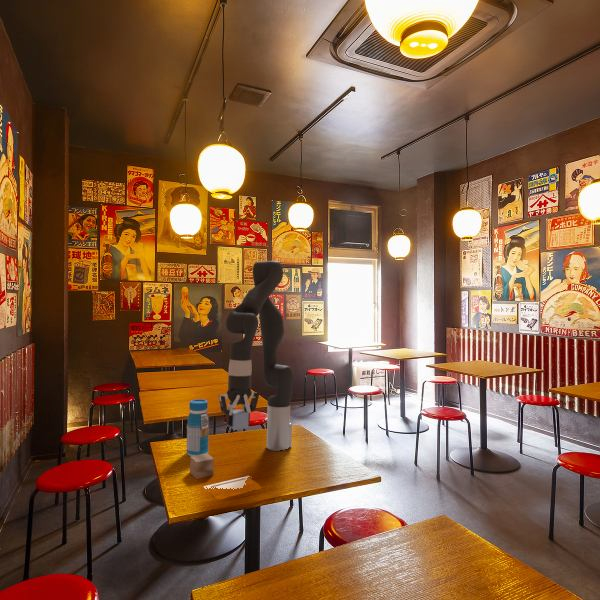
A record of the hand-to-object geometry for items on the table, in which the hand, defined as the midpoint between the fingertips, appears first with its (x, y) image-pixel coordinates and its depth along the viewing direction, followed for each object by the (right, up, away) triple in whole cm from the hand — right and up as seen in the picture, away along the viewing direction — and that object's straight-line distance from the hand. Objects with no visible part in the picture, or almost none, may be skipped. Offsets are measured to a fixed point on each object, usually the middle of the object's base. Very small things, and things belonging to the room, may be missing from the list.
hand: (237, 424), depth 140 cm
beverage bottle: (-19, -18, +24) cm, 35 cm away
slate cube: (0, -1, 0) cm, 1 cm away
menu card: (0, -18, -6) cm, 19 cm away
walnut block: (-13, -18, +4) cm, 22 cm away
